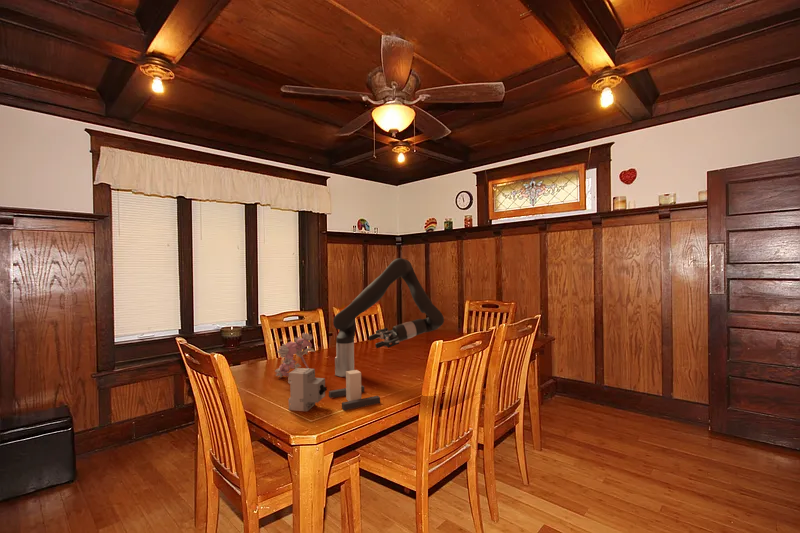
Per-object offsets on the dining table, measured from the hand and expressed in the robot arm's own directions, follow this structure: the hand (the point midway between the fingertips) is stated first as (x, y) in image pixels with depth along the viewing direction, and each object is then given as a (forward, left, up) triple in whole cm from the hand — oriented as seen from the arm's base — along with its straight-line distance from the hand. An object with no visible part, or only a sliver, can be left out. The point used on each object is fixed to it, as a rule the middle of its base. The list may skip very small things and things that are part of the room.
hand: (372, 342), depth 174 cm
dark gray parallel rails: (-5, -10, -23) cm, 26 cm away
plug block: (-5, -10, -23) cm, 26 cm away
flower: (-49, +12, -23) cm, 56 cm away
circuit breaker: (-19, -23, -23) cm, 38 cm away
